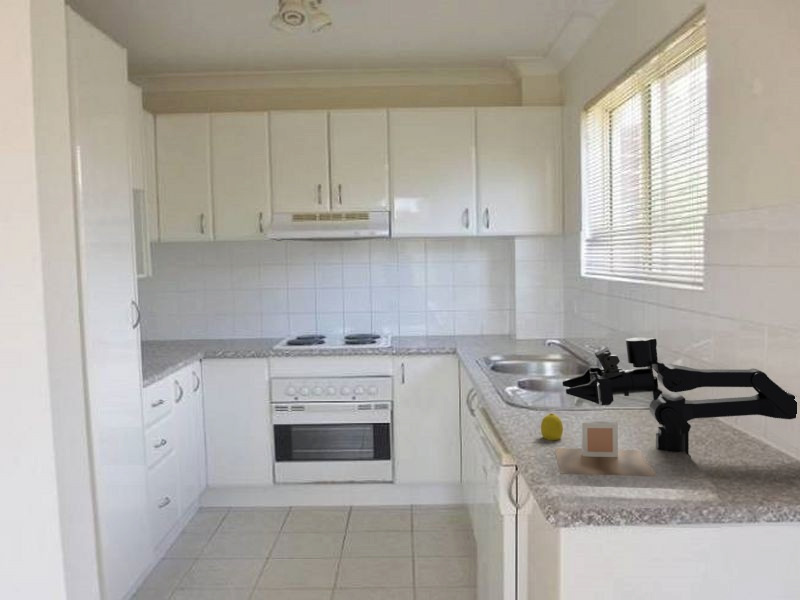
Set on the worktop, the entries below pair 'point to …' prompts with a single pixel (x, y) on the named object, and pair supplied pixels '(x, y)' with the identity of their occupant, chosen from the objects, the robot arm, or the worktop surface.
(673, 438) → the robot arm
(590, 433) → the block
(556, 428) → the lemon
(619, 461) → the board
